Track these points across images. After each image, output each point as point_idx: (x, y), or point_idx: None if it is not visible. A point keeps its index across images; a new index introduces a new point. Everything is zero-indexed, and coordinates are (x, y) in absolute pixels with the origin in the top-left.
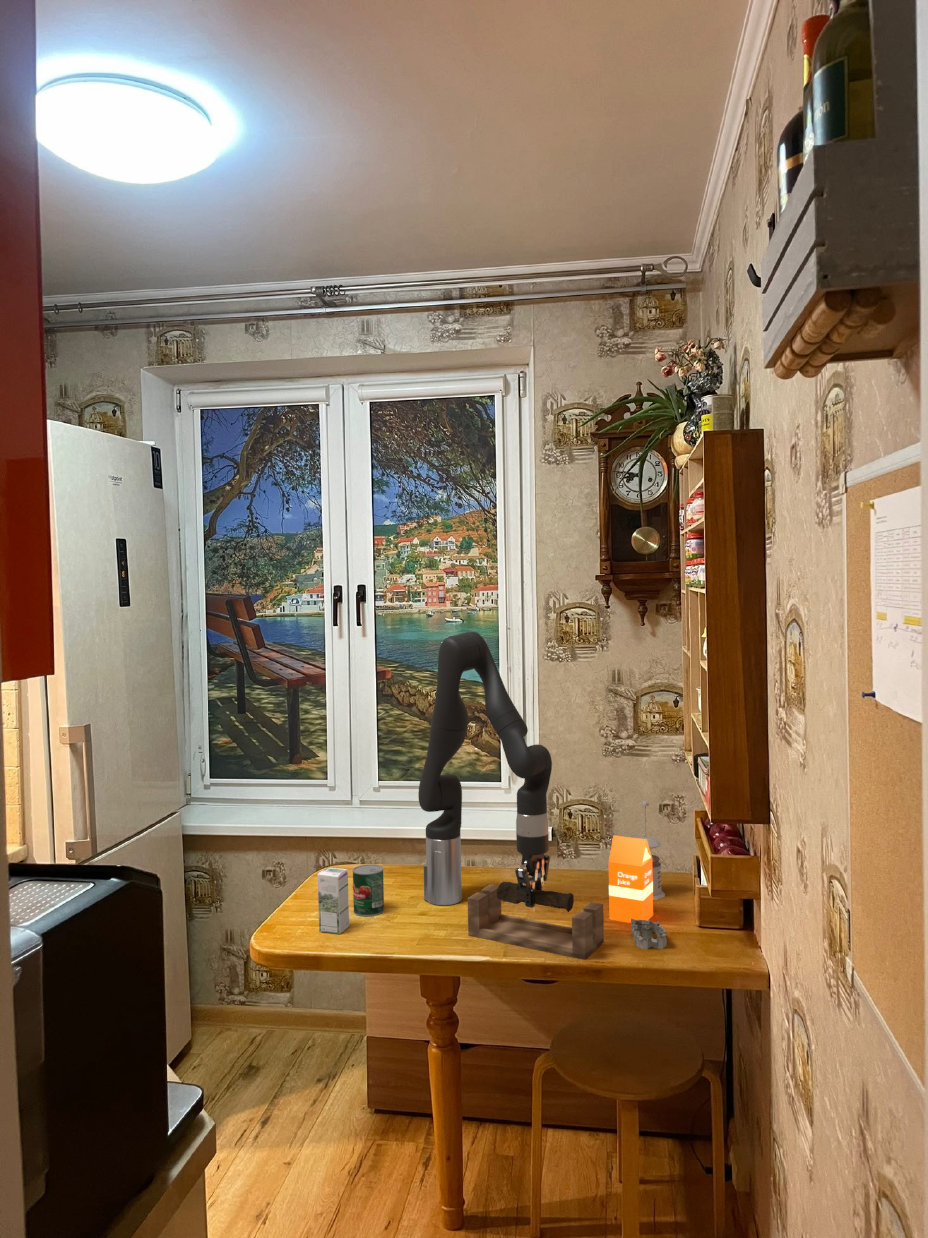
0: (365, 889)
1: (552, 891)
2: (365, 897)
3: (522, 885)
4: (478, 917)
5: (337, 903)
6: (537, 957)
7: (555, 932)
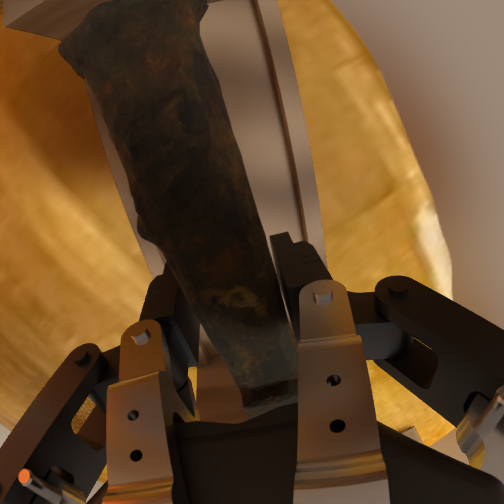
0: None
1: (155, 188)
2: None
3: (407, 352)
4: None
5: None
6: (346, 93)
7: None
